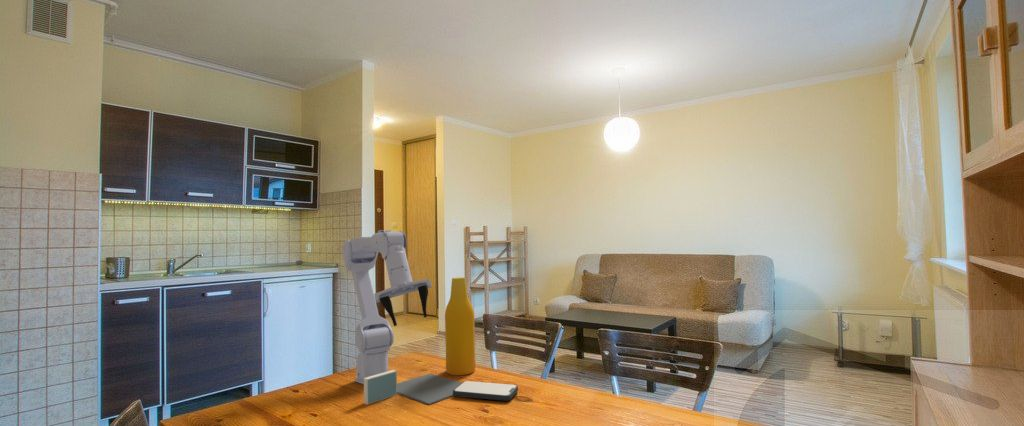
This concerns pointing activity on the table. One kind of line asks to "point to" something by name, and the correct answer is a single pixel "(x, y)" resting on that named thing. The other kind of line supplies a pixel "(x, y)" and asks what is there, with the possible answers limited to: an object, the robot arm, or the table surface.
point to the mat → (428, 388)
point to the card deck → (380, 386)
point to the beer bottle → (459, 330)
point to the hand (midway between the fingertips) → (410, 320)
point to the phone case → (486, 390)
